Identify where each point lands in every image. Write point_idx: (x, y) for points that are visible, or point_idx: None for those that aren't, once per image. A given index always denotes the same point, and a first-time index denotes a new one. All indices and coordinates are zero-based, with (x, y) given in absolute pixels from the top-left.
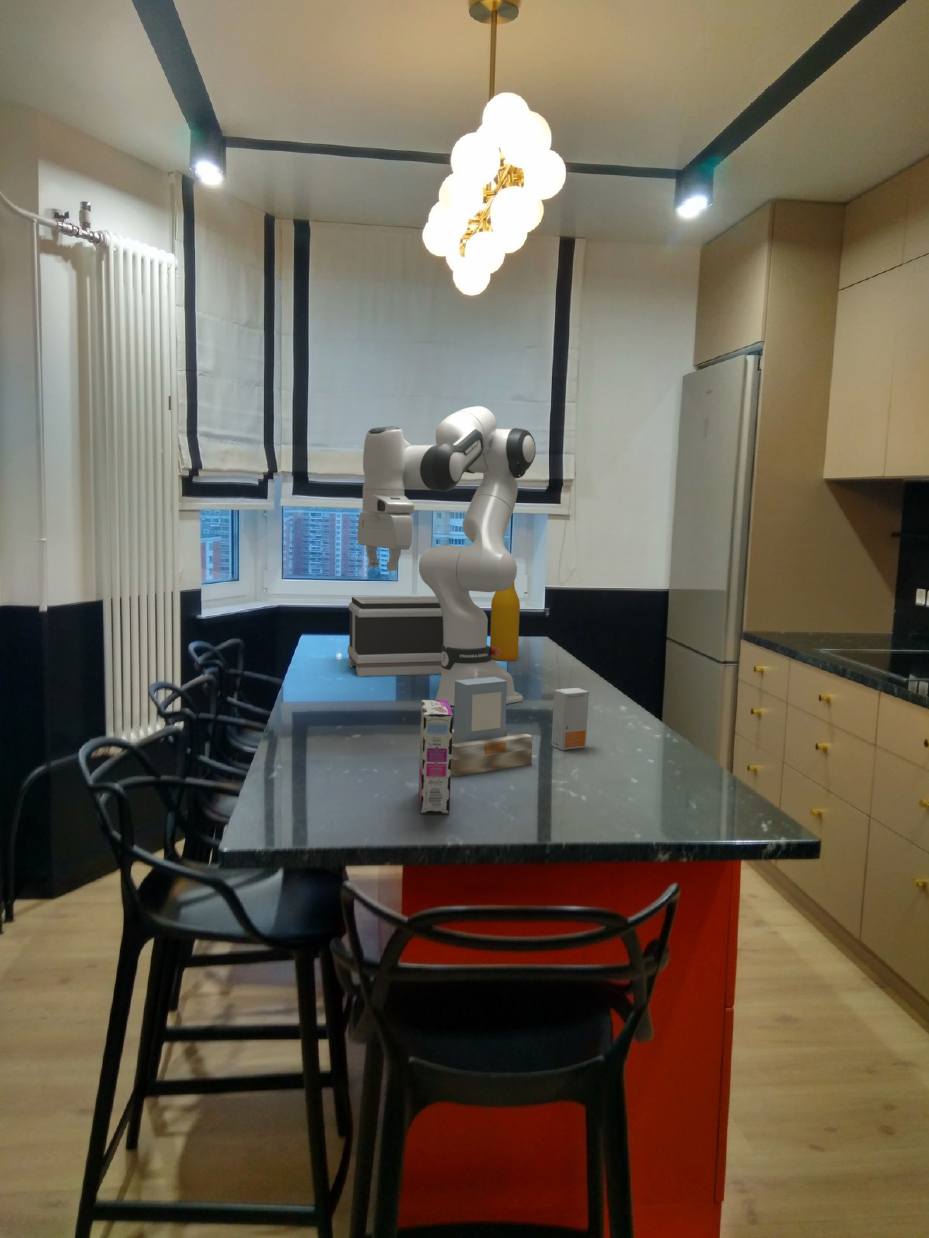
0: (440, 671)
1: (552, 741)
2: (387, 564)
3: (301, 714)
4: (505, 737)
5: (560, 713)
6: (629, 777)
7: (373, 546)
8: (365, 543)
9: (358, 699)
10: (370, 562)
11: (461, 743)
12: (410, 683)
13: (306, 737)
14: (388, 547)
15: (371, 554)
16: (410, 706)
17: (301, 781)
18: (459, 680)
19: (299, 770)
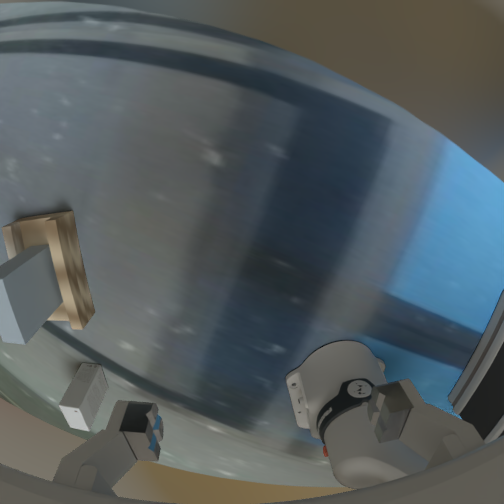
0: (458, 383)
1: (97, 367)
2: (141, 421)
3: (373, 126)
4: None
5: (74, 388)
6: (12, 357)
7: (341, 493)
8: (473, 461)
9: (417, 244)
10: (393, 397)
11: (11, 240)
12: (448, 339)
13: (235, 83)
14: (38, 481)
15: (429, 435)
16: (346, 299)
17: (56, 48)
18: (2, 285)
19: (90, 48)
